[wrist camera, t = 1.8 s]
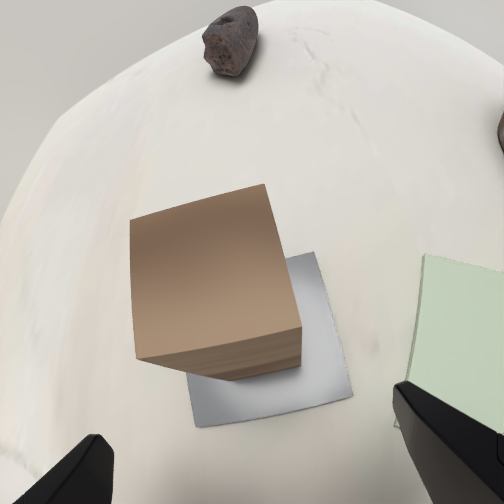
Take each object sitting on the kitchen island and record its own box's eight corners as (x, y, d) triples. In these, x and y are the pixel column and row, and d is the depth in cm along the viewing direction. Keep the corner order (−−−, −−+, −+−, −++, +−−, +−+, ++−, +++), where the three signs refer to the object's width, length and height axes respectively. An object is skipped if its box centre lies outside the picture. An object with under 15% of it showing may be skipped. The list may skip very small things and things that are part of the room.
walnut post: (301, 365, 19) (302, 326, 8) (228, 381, 19) (136, 359, 8) (284, 297, 21) (264, 183, 10) (216, 313, 21) (129, 219, 10)
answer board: (525, 432, 13) (530, 432, 13) (394, 425, 16) (396, 426, 16) (538, 285, 18) (542, 283, 17) (422, 256, 21) (425, 253, 20)
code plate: (351, 395, 18) (353, 395, 17) (198, 426, 18) (195, 427, 18) (313, 255, 22) (313, 251, 22) (177, 287, 23) (174, 284, 22)
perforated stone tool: (237, 33, 39) (229, -6, 33) (272, 32, 38) (266, -8, 32) (201, 88, 33) (185, 39, 27) (244, 88, 32) (233, 36, 26)
